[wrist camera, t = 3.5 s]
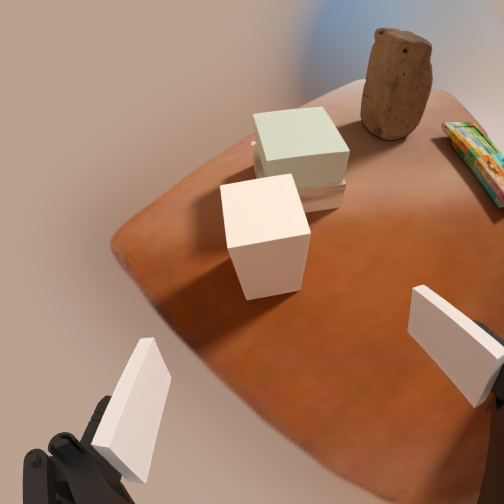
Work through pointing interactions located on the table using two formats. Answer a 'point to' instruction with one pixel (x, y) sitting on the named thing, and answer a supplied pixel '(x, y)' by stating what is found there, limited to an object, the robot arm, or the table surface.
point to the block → (396, 83)
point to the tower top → (301, 146)
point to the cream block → (266, 234)
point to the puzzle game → (479, 156)
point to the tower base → (308, 189)
